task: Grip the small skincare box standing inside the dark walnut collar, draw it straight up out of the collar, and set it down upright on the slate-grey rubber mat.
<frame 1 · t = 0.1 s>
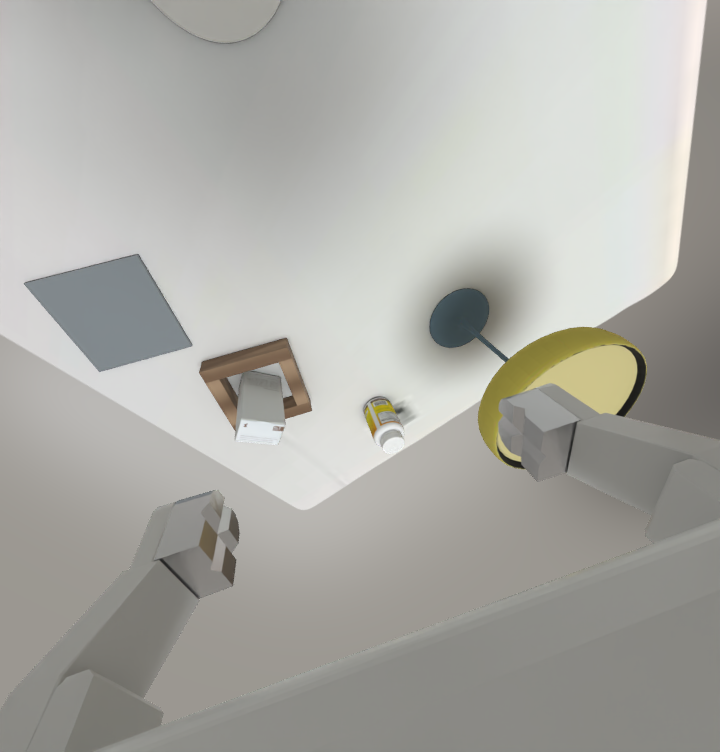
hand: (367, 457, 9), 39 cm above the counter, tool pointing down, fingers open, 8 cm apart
slate mat: (117, 317, 41), on the counter
walnut collar: (260, 382, 52), on the counter
supplement bottle: (376, 406, 61), on the counter
skincare box: (260, 381, 52), resting in walnut collar
cocktail glass: (458, 318, 54), on the counter
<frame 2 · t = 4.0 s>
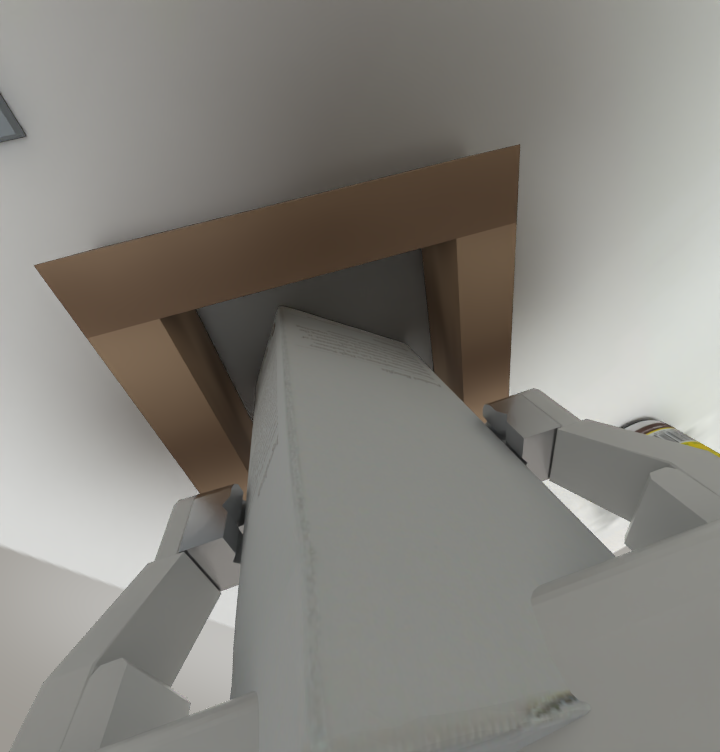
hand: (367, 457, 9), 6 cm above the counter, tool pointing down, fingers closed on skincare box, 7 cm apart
walnut collar: (336, 362, 14), on the counter
supplement bottle: (623, 446, 22), on the counter
skincare box: (335, 361, 14), resting in walnut collar, touching gripper
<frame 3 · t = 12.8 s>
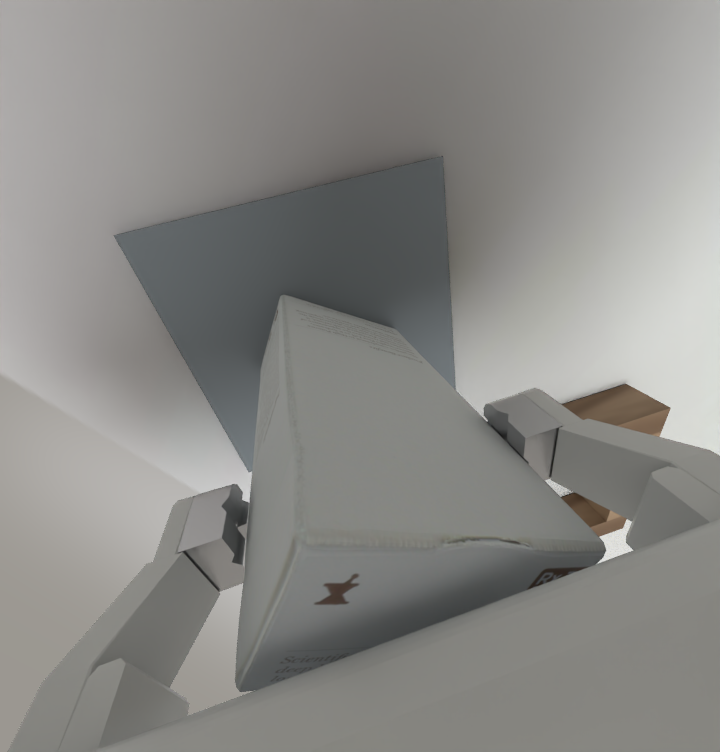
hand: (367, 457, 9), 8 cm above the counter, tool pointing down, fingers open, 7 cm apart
slate mat: (327, 339, 16), on the counter
walnut collar: (534, 473, 25), on the counter
skincare box: (332, 345, 16), resting on slate mat, touching gripper
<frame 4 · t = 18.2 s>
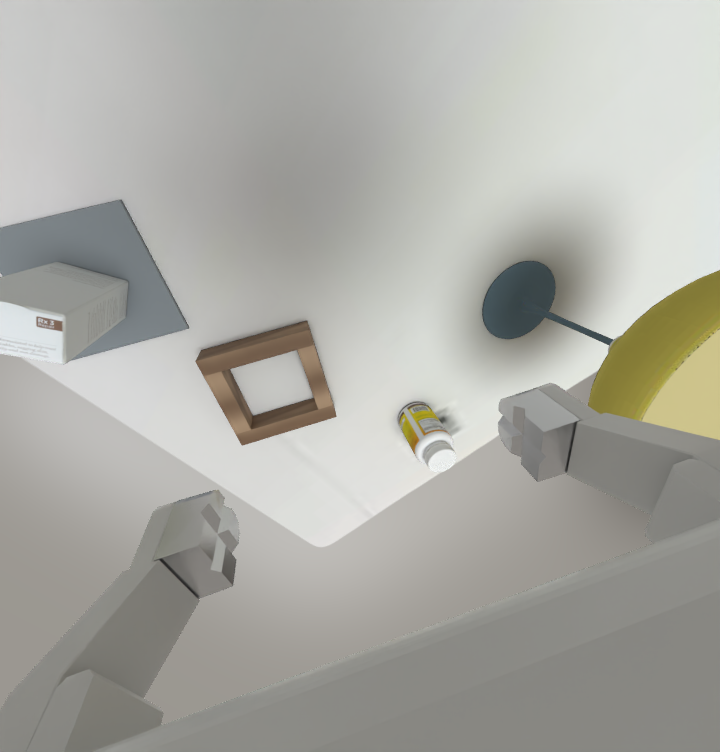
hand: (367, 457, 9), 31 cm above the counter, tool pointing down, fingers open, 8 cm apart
slate mat: (94, 286, 32), on the counter
walnut collar: (273, 379, 42), on the counter
supplement bottle: (413, 414, 50), on the counter
skincare box: (97, 289, 32), resting on slate mat
cocktail glass: (517, 301, 44), on the counter
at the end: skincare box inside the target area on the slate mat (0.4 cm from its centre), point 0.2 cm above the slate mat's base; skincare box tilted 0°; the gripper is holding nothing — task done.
